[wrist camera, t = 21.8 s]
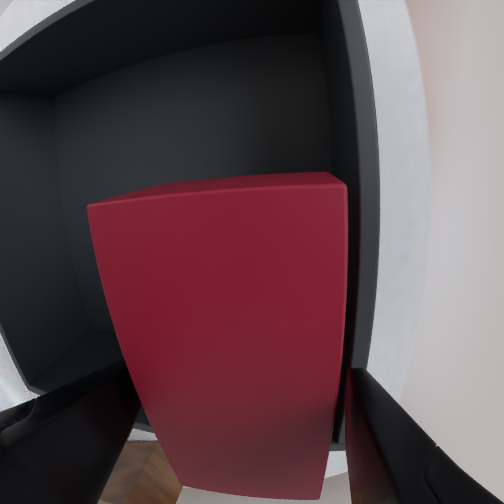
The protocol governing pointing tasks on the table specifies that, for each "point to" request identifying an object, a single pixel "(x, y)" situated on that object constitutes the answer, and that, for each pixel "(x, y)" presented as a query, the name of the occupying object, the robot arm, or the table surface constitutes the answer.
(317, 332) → the red rectangular block
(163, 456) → the wooden stand
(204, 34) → the storage bin
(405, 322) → the table surface
